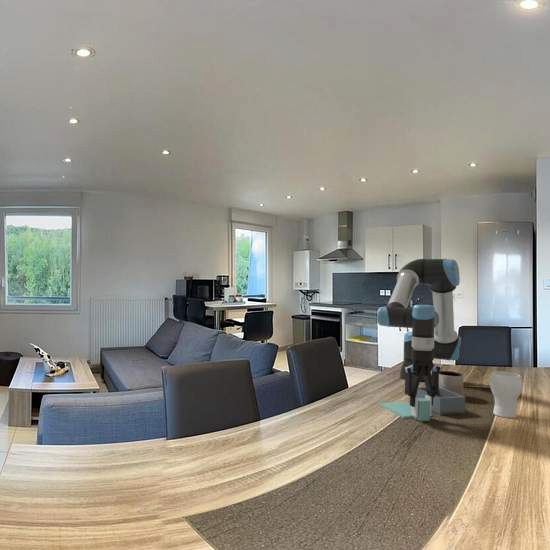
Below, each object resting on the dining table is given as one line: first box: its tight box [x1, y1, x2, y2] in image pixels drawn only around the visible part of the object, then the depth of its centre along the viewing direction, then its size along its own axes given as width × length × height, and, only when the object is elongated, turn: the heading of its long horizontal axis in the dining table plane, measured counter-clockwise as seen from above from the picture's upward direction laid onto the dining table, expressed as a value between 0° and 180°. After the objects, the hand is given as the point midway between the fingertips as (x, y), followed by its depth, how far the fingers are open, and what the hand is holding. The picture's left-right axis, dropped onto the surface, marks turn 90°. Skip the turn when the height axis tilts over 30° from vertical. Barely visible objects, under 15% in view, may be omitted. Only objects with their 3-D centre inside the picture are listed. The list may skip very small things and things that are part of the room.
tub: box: [416, 386, 466, 416], centre depth 170 cm, size 16×11×6 cm
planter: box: [439, 370, 464, 396], centre depth 188 cm, size 11×11×10 cm
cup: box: [489, 370, 523, 419], centre depth 163 cm, size 11×11×15 cm
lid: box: [379, 398, 433, 422], centre depth 163 cm, size 21×12×7 cm, turn 17°
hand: (421, 415), depth 155 cm, fingers open, 5 cm apart
